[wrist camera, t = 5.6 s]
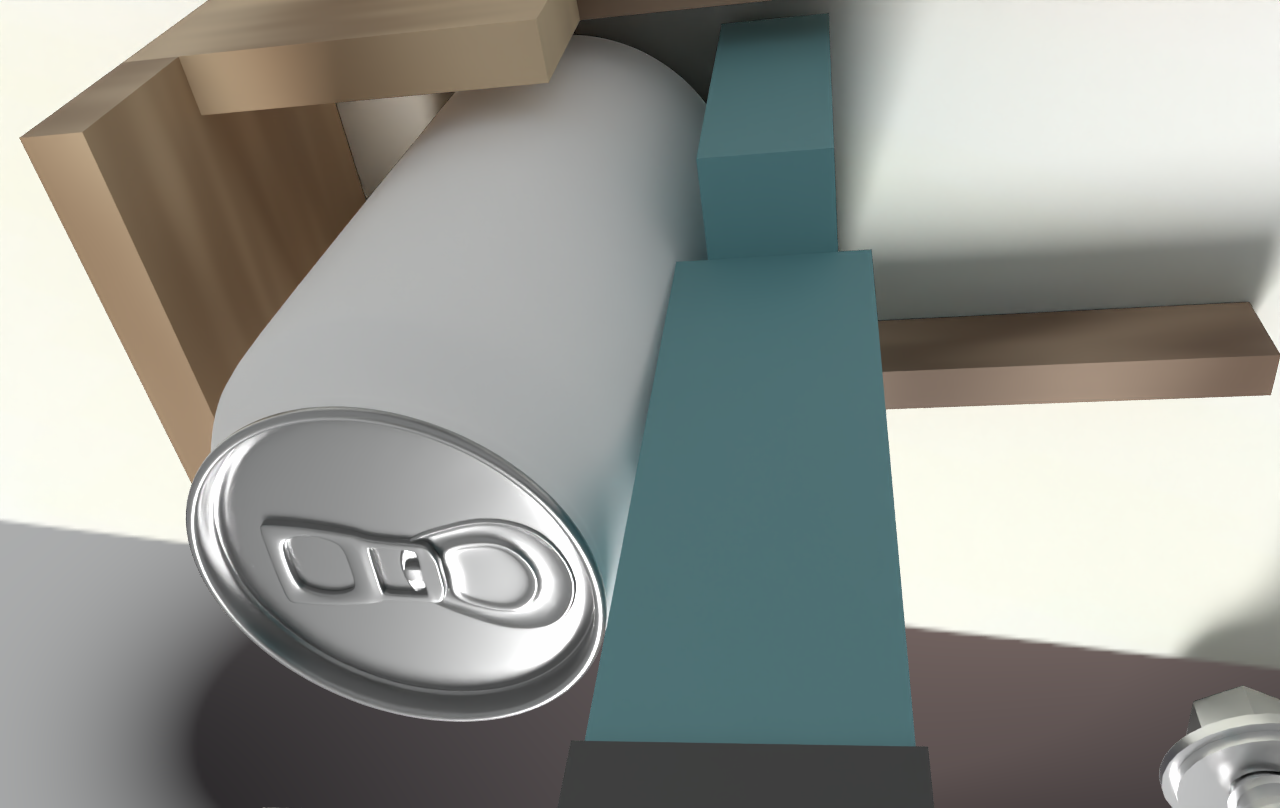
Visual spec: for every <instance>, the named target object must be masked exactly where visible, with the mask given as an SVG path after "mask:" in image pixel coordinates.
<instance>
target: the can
mask: <svg viewBox="0 0 1280 808" xmlns="http://www.w3.org/2000/svg"><path fill="white" fill-rule="evenodd" d="M705 109H706V103H705V102H704V101H703V100H702V98H701V97H700V96H699V95H698V94H697V92H696V91H695V90H694V89H693V88H692V87H691V86H690V85H689V84H688V83H687V82H686V81H685V80H684V79H683V78H681V77H680V76H679V75H678V74H677V73H675V72H674V71H673V70H672V69H670V68H669V67H667V66H666V65H665V64H663V63H661V62H660V61H658V60H657V59H655V58H653V57H652V56H650V55H648V54H646V53H644V52H642V51H640V50H638V49H635V48H633V47H630V46H628V45H625V44H622V43H619V42H616V41H612V40H608V39H604V38H599V37H592V36H583V35H572V37H571V39H570V41H569V43H568V45H567V47H566V49H565V51H564V53H563V55H562V57H561V59H560V61H559V63H558V65H557V67H556V69H555V71H554V73H553V75H552V77H551V79H550V81H549V83H541V84H530V85H519V86H509V87H498V88H487V89H477V90H466V91H456V92H455V93H454V94H453V96H452V97H451V98H450V99H449V100H448V102H447V103H446V104H445V105H444V106H443V107H442V109H441V110H440V111H439V112H438V114H437V115H436V116H435V117H434V118H433V120H432V121H431V122H430V123H429V125H428V126H427V127H426V128H425V129H424V131H423V132H422V133H421V134H420V135H419V137H418V138H417V139H416V140H415V142H414V143H413V144H412V145H411V146H410V148H409V149H408V150H407V151H406V153H405V154H404V155H403V156H402V158H401V159H400V160H399V161H398V162H397V164H396V165H395V166H394V167H393V169H392V170H391V171H390V172H389V174H388V175H387V176H386V177H385V178H384V180H383V181H382V182H381V183H380V185H379V186H378V187H377V188H376V190H375V191H374V192H373V193H372V194H371V196H370V197H369V198H368V199H367V201H366V202H365V203H364V204H363V206H362V207H361V208H360V209H359V211H358V212H357V213H356V214H355V216H354V217H353V218H352V219H351V220H350V222H349V223H348V224H347V225H346V227H345V228H344V229H343V230H342V232H341V233H340V234H339V235H338V237H337V238H336V239H335V240H334V242H333V243H332V244H331V245H330V247H329V248H328V249H327V250H326V252H325V253H324V254H323V255H322V257H321V258H320V259H319V260H318V262H317V263H316V264H315V265H314V267H313V268H312V269H311V270H310V272H309V273H308V274H307V275H306V277H305V278H304V279H303V280H302V281H301V283H300V284H299V285H298V286H297V288H296V289H295V290H294V291H293V293H292V294H291V295H290V296H289V298H288V299H287V300H286V302H285V303H284V304H283V305H282V307H281V308H280V309H279V310H278V312H277V313H276V314H275V316H274V317H273V318H272V319H271V321H270V322H269V323H268V324H267V326H266V327H265V328H264V330H263V331H262V332H261V333H260V335H259V336H258V337H257V339H256V340H255V342H254V343H253V344H252V346H251V347H250V348H249V350H248V351H247V352H246V354H245V355H244V356H243V358H242V359H241V361H240V362H239V364H238V365H237V367H236V368H235V370H234V372H233V374H232V375H231V377H230V379H229V381H228V382H227V384H226V386H225V388H224V390H223V392H222V395H221V397H220V400H219V403H218V406H217V410H216V414H215V419H214V424H213V431H212V440H211V453H210V454H209V455H208V456H207V457H206V459H205V460H204V461H203V463H202V465H201V466H200V468H199V469H198V471H197V473H196V475H195V477H194V480H193V482H192V485H191V488H190V491H189V495H188V500H187V508H186V528H187V535H188V541H189V545H190V549H191V552H192V556H193V558H194V561H195V564H196V566H197V568H198V571H199V573H200V575H201V577H202V579H203V581H204V582H205V584H206V586H207V588H208V589H209V591H210V593H211V594H212V595H213V597H214V599H215V600H216V601H217V603H218V604H219V605H220V607H221V608H222V609H223V611H224V612H225V613H226V614H227V615H228V617H229V618H230V619H231V620H232V621H233V622H234V623H235V624H236V625H237V627H238V628H239V629H240V630H241V631H242V632H243V633H245V634H246V635H247V636H248V637H249V638H250V639H251V640H252V641H253V642H254V643H255V644H257V645H258V646H259V647H260V648H262V649H263V650H264V651H265V652H266V653H268V654H269V655H270V656H272V657H273V658H274V659H276V660H277V661H279V662H280V663H281V664H283V665H285V666H286V667H287V668H289V669H291V670H292V671H294V672H295V673H297V674H299V675H301V676H302V677H304V678H306V679H307V680H309V681H311V682H313V683H315V684H317V685H318V686H320V687H322V688H325V689H327V690H329V691H331V692H333V693H335V694H338V695H340V696H342V697H345V698H347V699H350V700H352V701H355V702H358V703H360V704H363V705H367V706H370V707H373V708H376V709H379V710H383V711H387V712H391V713H395V714H399V715H404V716H409V717H414V718H421V719H428V720H438V721H458V722H460V721H461V722H462V721H484V720H492V719H499V718H504V717H509V716H513V715H517V714H521V713H524V712H527V711H530V710H533V709H535V708H538V707H540V706H542V705H544V704H547V703H548V702H550V701H552V700H554V699H556V698H557V697H559V696H561V695H562V694H563V693H565V692H566V691H568V690H569V689H570V688H571V687H572V686H574V684H576V683H577V682H578V681H579V680H580V679H581V678H582V676H583V675H584V674H585V673H586V672H587V670H588V669H589V668H590V666H591V665H592V663H593V661H594V660H595V658H596V656H597V654H598V651H599V649H600V647H601V643H602V641H603V637H604V633H605V630H606V627H607V622H608V617H609V611H610V606H611V601H612V596H613V590H614V585H615V580H616V575H617V569H618V564H619V559H620V554H621V549H622V543H623V538H624V533H625V528H626V522H627V517H628V512H629V507H630V501H631V496H632V491H633V486H634V481H635V475H636V470H637V465H638V460H639V454H640V449H641V444H642V439H643V433H644V428H645V423H646V418H647V413H648V407H649V402H650V397H651V392H652V386H653V381H654V376H655V371H656V365H657V360H658V355H659V350H660V345H661V339H662V334H663V329H664V324H665V318H666V313H667V308H668V303H669V297H670V292H671V287H672V282H673V276H674V271H675V266H676V262H680V261H696V260H708V256H707V247H706V239H705V230H704V222H703V213H702V205H701V196H700V188H699V179H698V171H697V162H696V157H697V151H698V146H699V141H700V136H701V130H702V125H703V120H704V115H705Z"/></svg>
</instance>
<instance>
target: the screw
mask: <svg viewBox="0 0 1280 808" xmlns="http://www.w3.org/2000/svg"><path fill="white" fill-rule="evenodd" d="M1159 779H1160V783H1161V786H1162V790H1163V793H1164V795H1165V799H1166V800H1167V801H1168V802H1169V804H1170V805H1171V806H1172V807H1173V808H1280V699H1278V698H1275V697H1272V696H1270V695H1267V694H1264V693H1262V692H1259V691H1256V690H1253V689H1251V688H1248V687H1246V686H1240V687H1236V688H1233V689H1230V690H1227V691H1224V692H1221V693H1218V694H1215V695H1211V696H1209V697H1205V698H1202V699H1199V700H1196V701H1194V702H1193V706H1192V711H1191V715H1190V720H1189V725H1188V729H1187V735H1186V736H1185V737H1184V738H1182V739H1181V740H1180V741H1178V742H1177V743H1176V744H1174V746H1173V747H1172V748H1171V749H1170V750H1169V751H1168V752H1167V754H1166V755H1165V757H1164V759H1163V761H1162V763H1161V765H1160V773H1159Z"/></svg>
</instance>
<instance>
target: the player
mask: <svg viewBox="0 0 1280 808" xmlns="http://www.w3.org/2000/svg"><path fill="white" fill-rule="evenodd" d="M696 162H697V171H698V179H699V188H700V196H701V205H702V213H703V222H704V230H705V239H706V247H707V256H708V260H696V261H680V262H676V266H675V271H674V276H673V282H672V287H671V292H670V297H669V303H668V308H667V313H666V318H665V324H664V329H663V334H662V339H661V345H660V350H659V355H658V360H657V365H656V371H655V376H654V381H653V386H652V392H651V397H650V402H649V407H648V413H647V418H646V423H645V428H644V433H643V439H642V444H641V449H640V454H639V460H638V465H637V470H636V475H635V481H634V486H633V491H632V496H631V501H630V507H629V512H628V517H627V522H626V528H625V533H624V538H623V543H622V549H621V554H620V559H619V564H618V569H617V575H616V580H615V585H614V590H613V596H612V601H611V606H610V611H609V617H608V622H607V627H606V632H605V637H604V643H603V648H602V653H601V658H600V664H599V669H598V674H597V679H596V685H595V690H594V695H593V700H592V706H591V711H590V716H589V721H588V727H587V732H586V737H585V741H571V744H570V749H569V753H568V759H567V763H566V768H565V773H564V778H563V783H562V788H561V793H560V798H559V803H558V808H934V802H933V792H932V782H931V772H930V762H929V752H928V747H917V746H915V736H914V725H913V713H912V702H911V691H910V679H909V668H908V656H907V646H906V634H905V622H904V611H903V600H902V589H901V577H900V566H899V555H898V544H897V532H896V521H895V510H894V498H893V487H892V476H891V465H890V453H889V442H888V431H887V420H886V408H885V397H884V386H883V374H882V363H881V352H880V341H879V329H878V318H877V307H876V296H875V284H874V273H873V262H872V250H857V251H841V252H838V238H837V212H836V186H835V160H834V135H833V110H832V85H831V60H830V36H829V13H825V14H815V15H805V16H795V17H785V18H775V19H765V20H755V21H745V22H736V23H726V24H722V26H721V31H720V36H719V41H718V47H717V52H716V57H715V62H714V68H713V73H712V78H711V83H710V89H709V94H708V99H707V104H706V109H705V115H704V120H703V125H702V130H701V136H700V141H699V146H698V151H697V157H696Z"/></svg>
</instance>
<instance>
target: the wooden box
mask: <svg viewBox="0 0 1280 808" xmlns="http://www.w3.org/2000/svg"><path fill="white" fill-rule="evenodd" d="M760 1H770V0H208V1H206V2H205V3H204V4H202V5H201V6H200V7H198V8H197V9H195V10H194V11H193V12H191V13H190V14H189V15H187V16H186V17H185V18H183V19H182V20H180V21H179V22H178V23H176V24H175V25H174V26H172V27H171V28H169V29H168V30H167V31H165V32H164V33H163V34H161V35H160V36H158V37H157V38H156V39H154V40H153V41H152V42H150V43H149V44H148V45H146V46H145V47H143V48H142V49H141V50H139V51H138V52H137V53H135V54H134V55H132V56H131V57H130V58H128V59H127V60H126V61H124V62H123V63H121V64H120V65H119V66H117V67H116V68H115V69H113V70H112V71H111V72H109V73H108V74H106V75H105V76H104V77H102V78H101V79H100V80H98V81H97V82H95V83H94V84H93V85H91V86H90V87H89V88H87V89H86V90H85V91H83V92H82V93H80V94H79V95H78V96H76V97H75V98H74V99H72V100H71V101H69V102H68V103H67V104H65V105H64V106H63V107H61V108H60V109H58V110H57V111H56V112H54V113H53V114H52V115H50V116H49V117H48V118H46V119H45V120H43V121H42V122H41V123H39V124H38V125H37V126H35V127H34V128H32V129H31V130H30V131H28V132H27V133H26V134H24V135H23V136H21V137H20V140H21V142H22V144H23V146H24V148H25V150H26V152H27V154H28V156H29V158H30V160H31V162H32V164H33V166H34V168H35V170H36V172H37V174H38V176H39V178H40V180H41V182H42V184H43V186H44V188H45V190H46V192H47V194H48V196H49V198H50V200H51V202H52V204H53V206H54V208H55V210H56V212H57V214H58V216H59V218H60V220H61V222H62V224H63V226H64V228H65V230H66V232H67V234H68V236H69V238H70V240H71V242H72V244H73V246H74V248H75V250H76V252H77V254H78V256H79V258H80V260H81V262H82V264H83V266H84V268H85V270H86V272H87V274H88V276H89V278H90V280H91V282H92V284H93V286H94V288H95V290H96V293H97V295H98V297H99V299H100V301H101V303H102V305H103V307H104V309H105V311H106V313H107V315H108V317H109V319H110V321H111V323H112V325H113V327H114V329H115V331H116V333H117V335H118V337H119V339H120V341H121V343H122V345H123V347H124V349H125V351H126V353H127V355H128V357H129V359H130V361H131V363H132V365H133V367H134V369H135V371H136V373H137V375H138V377H139V379H140V381H141V383H142V385H143V387H144V389H145V391H146V393H147V395H148V397H149V399H150V401H151V403H152V405H153V407H154V409H155V411H156V413H157V415H158V417H159V419H160V421H161V423H162V425H163V427H164V429H165V431H166V433H167V435H168V437H169V439H170V441H171V443H172V445H173V447H174V449H175V451H176V453H177V455H178V457H179V459H180V461H181V463H182V465H183V467H184V469H185V471H186V473H187V475H188V477H189V479H190V481H191V483H192V482H193V480H194V477H195V475H196V473H197V471H198V469H199V468H200V466H201V465H202V463H203V461H204V460H205V459H206V457H207V456H208V455H209V454H210V453H211V440H212V431H213V424H214V419H215V414H216V410H217V406H218V403H219V400H220V397H221V395H222V392H223V390H224V388H225V386H226V384H227V382H228V381H229V379H230V377H231V375H232V374H233V372H234V370H235V368H236V367H237V365H238V364H239V362H240V361H241V359H242V358H243V356H244V355H245V354H246V352H247V351H248V350H249V348H250V347H251V346H252V344H253V343H254V342H255V340H256V339H257V337H258V336H259V335H260V333H261V332H262V331H263V330H264V328H265V327H266V326H267V324H268V323H269V322H270V321H271V319H272V318H273V317H274V316H275V314H276V313H277V312H278V310H279V309H280V308H281V307H282V305H283V304H284V303H285V302H286V300H287V299H288V298H289V296H290V295H291V294H292V293H293V291H294V290H295V289H296V288H297V286H298V285H299V284H300V283H301V281H302V280H303V279H304V278H305V277H306V275H307V274H308V273H309V272H310V270H311V269H312V268H313V267H314V265H315V264H316V263H317V262H318V260H319V259H320V258H321V257H322V255H323V254H324V253H325V252H326V250H327V249H328V248H329V247H330V245H331V244H332V243H333V242H334V240H335V239H336V238H337V237H338V235H339V234H340V233H341V232H342V230H343V229H344V228H345V227H346V225H347V224H348V223H349V222H350V220H351V219H352V218H353V217H354V216H355V214H356V213H357V212H358V211H359V209H360V208H361V207H362V206H363V204H364V203H365V202H366V199H365V196H364V193H363V190H362V187H361V183H360V180H359V177H358V174H357V171H356V168H355V164H354V161H353V158H352V155H351V152H350V148H349V145H348V142H347V139H346V136H345V132H344V129H343V126H342V123H341V120H340V117H339V113H338V110H337V107H336V104H335V103H338V102H349V101H359V100H370V99H381V98H391V97H402V96H413V95H423V94H434V93H445V92H455V91H466V90H477V89H487V88H498V87H509V86H519V85H530V84H541V83H549V81H550V79H551V77H552V75H553V73H554V71H555V69H556V67H557V65H558V63H559V61H560V59H561V57H562V55H563V53H564V51H565V49H566V47H567V45H568V43H569V41H570V39H571V37H572V35H573V33H574V31H575V29H576V27H577V25H578V23H579V21H580V20H587V19H597V18H606V17H616V16H626V15H635V14H645V13H655V12H664V11H674V10H683V9H693V8H703V7H712V6H722V5H732V4H741V3H751V2H760ZM878 329H879V341H880V352H881V363H882V374H883V386H884V397H885V408H886V409H905V408H933V407H960V406H987V405H1015V404H1042V403H1069V402H1096V401H1124V400H1151V399H1178V398H1205V397H1233V396H1260V395H1271V392H1272V388H1273V384H1274V380H1275V376H1276V372H1277V368H1278V363H1279V359H1280V353H1279V352H1278V350H1277V348H1276V346H1275V345H1274V343H1273V341H1272V340H1271V338H1270V336H1269V335H1268V333H1267V331H1266V330H1265V328H1264V326H1263V324H1262V323H1261V321H1260V319H1259V318H1258V316H1257V314H1256V313H1255V311H1254V309H1253V308H1252V306H1251V304H1250V303H1249V302H1241V303H1222V304H1202V305H1182V306H1163V307H1143V308H1123V309H1104V310H1084V311H1064V312H1045V313H1025V314H1005V315H986V316H966V317H946V318H927V319H907V320H887V321H878Z"/></svg>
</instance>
